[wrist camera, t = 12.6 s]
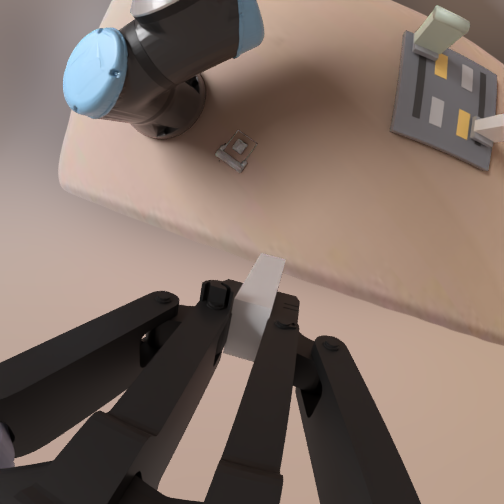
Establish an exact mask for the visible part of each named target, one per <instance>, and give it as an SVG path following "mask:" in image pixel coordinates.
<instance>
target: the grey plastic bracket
mask: <svg viewBox="0 0 504 504" xmlns="http://www.w3.org/2000/svg"><path fill="white" fill-rule="evenodd" d="M238 131H239V130H237V132H238ZM237 132H236V133H237ZM239 132H241V131H239ZM236 133H235V134H236ZM241 133H242V132H241ZM235 134H234V136H235ZM242 134H244V133H242ZM244 135H245V134H244ZM234 136H233V137H234ZM245 136H246V135H245ZM233 137H232V138H233ZM247 137H248V136H247ZM232 138H231V140H232ZM248 138H249V137H248ZM249 139H251V138H249ZM231 140H230V141H231ZM251 140H252V139H251ZM230 141H229V142H230ZM252 141H253V140H252ZM229 142H228V144H229ZM254 142H255V141H254ZM255 143H256V142H255ZM228 144H226V143H225V144H224V145H221V147H220V148H219V150H218V151H217V152H216V154H215V155H216V156H217V157H219V158H220V159H222V160H223V161H224V162H226V163H227V164H228V165H230V166H231V167H232V168H234V169H235V170H236V171H238V172H239V173H241V171H242V170H243V169H244V167H245V166H246V164H247V162H245V161H246V159H247V158H248V156H249V155H250V154H251V152H252V151H253V150H254V148H255V147H256V146H257V144H258V143H256V146H255V147H254V148H253V150H252V151H251V152H250V154H249V155H248V156H247V158H246V159H245V161H243V162H242V163H239V162H238V161H236V160H235V159H234V158H232V157H231V156H230V155H228V154H227V153H225V152H224V151H223V150H224V149H225V148H226V146H227V145H228ZM247 146H248V145H247V144H246V143H244V142H243V141H241V140H240V139H238V140H237V141H236V143H235V144H234V145H233V147H232V148H233V149H234V150H235V151H237V152H238V153H239V154H241V153H242V152H243V151H244V149H245V148H246V147H247ZM219 161H220V160H219Z"/></svg>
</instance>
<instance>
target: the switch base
mask: <svg viewBox="0 0 504 504" xmlns="http://www.w3.org/2000/svg"><path fill="white" fill-rule="evenodd" d="M413 34H414V33H411V32H409V31H405V32H404V34H403V40H402V51H401V60H400V69H399V77H398V84H397V91H396V98H395V104H394V110H393V116H392V122H391V127H390V132H392V133H395V134H398V135H401V136H404V137H407V138H409V139H412V140H415V141H417V142H420V143H422V144H425V145H427V146H430V147H432V148H435V149H437V150H440V151H442V152H444V153H447V154H449V155H451V156H453V157H456V158H458V159H460V160H462V161H464V162H466V163H468V164H471V165H473V166H475V167H477V168H479V169H481V170H483V171H488V169H489V164H490V157H491V151H492V147H487V146H485V145H483V144H481V143H479V142H477V141H475V140H473V139H471V138H470V134H471V126H472V117H474V116H478V117H480V118H487V117H491V116H495V114H496V96H497V75H496V74H494V73H492V72H491V71H489V70H488V69H486V68H484V67H482V66H481V65H479V64H477V63H475V62H474V61H472V60H470V59H468V58H466V57H464V56H462V55H461V54H459V53H457V52H455V51H453V50H451V49H448V48H447V49H446V50H445V51H444V52H443V53H442V54H439V58H438V59H437V60H436V61H433V60H431V59H429V58H426V57H424V56H421V55H419V54H416V53H414V52H412V49H413Z"/></svg>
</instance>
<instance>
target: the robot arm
mask: <svg viewBox="0 0 504 504" xmlns="http://www.w3.org/2000/svg"><path fill="white" fill-rule="evenodd" d="M130 13H131V14H132V16H133V17H134V18H135V20H133V21H132V22H130V23H129V24H127V25H126V26H124V27H123V28H121V29H120V30H117V29H115V28H104V29H103V28H100V29H97V30H94V31H92V32H91V33H89V34H88V35H87V36H85V37H84V38H83V39H82V40H81V41H80V42H79V43H78V45H77V46H76V48H75V49H74V51H73V52H72V54H71V56H70V58H69V60H68V63H67V67H66V70H65V73H64V79H63V91H64V96H65V99H66V102H67V104H68V105H69V107H70V108H71V109H72V110H73V111H75V112H76V113H78V114H81V115H86V116H88V117H91V118H93V119H105V120H112V121H119V122H125V123H130V124H131V125H132V126H133V127H134V128H135V129H136V130H137V131H138V132H140V133H141V134H143V135H145V136H148V137H152V138H159V139H166V138H172V137H175V136H177V135H179V134H181V133H183V132H185V131H186V130H187V129H189V128H190V127H191V126H192V125H193V124H194V123H195V121H196V120H197V119H198V117H199V115H200V114H201V112H202V109H203V107H204V103H205V98H206V89H205V84H204V81H203V79H202V77H201V75H200V73H202V72H204V71H206V70H208V69H210V68H212V67H214V66H216V65H218V64H220V63H222V62H224V61H227V60H229V59H231V58H234V59H235V58H237V57H239V56H240V54H242V53H244V52H247V51H249V50H251V49H253V48H255V47H257V46H258V45H260V44H261V42H262V40H263V38H264V25H263V20H262V17H261V13H260V10H259V7H258V4H257V1H256V0H132V4H131V9H130ZM285 260H286V259H283V258H279V257H276V256H272V255H268V254H264V253H261V254H260V256H259V257H258V259H257V261H256V263H255V264H254V266H253V268H252V269H251V271H250V273H249V274H248V276H247V278H246V280H245V281H244V283H241V282H237V281H234V280H230V279H228V280H225V281H218V280H208V281H205V282H203V283H202V288H201V295H200V301H199V302H198V303H197V305H196V306H184V305H179V298H178V297H177V296H176V295H174V294H172V293H170V292H167V291H166V292H165V291H156V292H152V293H150V294H148V295H145V296H143V297H141V298H139V299H137V300H135V301H132V302H130V303H128V304H126V305H124V306H122V307H119V308H117V309H115V310H113V311H111V312H109V313H106V314H104V315H102V316H100V317H98V318H96V319H93V320H91V321H89V322H87V323H85V324H83V325H80V326H79V327H76V328H74V329H72V330H70V331H68V332H66V333H63V334H61V335H59V336H57V337H55V338H52V339H50V340H48V341H46V342H44V343H42V344H40V345H38V346H35V347H33V348H31V349H29V350H27V351H25V352H22V353H20V354H18V355H16V356H14V357H12V358H10V359H7V360H5V361H3V362H1V363H0V504H279V503H280V497H281V492H282V486H283V475H281V474H280V467H281V461H282V455H283V449H284V443H285V436H286V430H287V423H288V416H289V410H290V402H291V395H292V387H293V386H295V387H296V397H297V401H298V405H299V410H300V414H301V419H302V423H303V428H304V432H305V437H306V441H307V446H308V450H309V454H310V459H311V464H312V468H313V473H314V477H315V482H316V486H317V491H318V496H319V500H320V504H421V503H420V500H419V498H418V496H417V493H416V491H415V489H414V486H413V484H412V482H411V479H410V477H409V475H408V473H407V470H406V468H405V466H404V464H403V461H402V459H401V457H400V455H399V453H398V450H397V449H396V446H395V444H394V442H393V440H392V438H391V436H390V433H389V431H388V429H387V427H386V425H385V423H384V421H383V419H382V417H381V414H380V413H379V410H378V408H377V407H376V404H375V402H374V400H373V398H372V396H371V394H370V392H369V390H368V388H367V386H366V384H365V382H364V380H363V378H362V376H361V374H360V372H359V370H358V368H357V366H356V364H355V362H354V360H353V358H352V356H351V354H350V352H349V350H348V349H347V347H346V345H345V344H344V343H343V342H342V341H340V340H339V339H337V338H335V337H332V336H319V337H317V338H316V339H315V341H312V340H310V339H308V338H306V337H305V336H303V335H302V334H301V333H300V332H299V325H298V324H297V322H298V313H299V300H298V299H297V297H296V296H292V295H289V294H285V293H281V292H277V291H278V287H279V283H280V279H281V275H282V272H283V268H284V264H285ZM144 334H146V337H145V338H143V339H142V337H143V336H144ZM223 348H224V351H223V353H226V354H229V355H232V356H236V357H239V358H243V359H246V360H249V361H253V362H254V364H253V367H252V370H251V373H250V376H249V379H248V382H247V386H246V388H245V391H244V394H243V397H242V400H241V403H240V406H239V409H238V412H237V415H236V418H235V421H234V424H233V426H232V429H231V432H230V435H229V438H228V441H227V443H226V446H225V449H224V452H223V455H222V457H221V460H220V461H219V464H218V466H217V469H216V471H215V474H214V477H213V480H212V482H211V485H210V487H209V490H208V493H207V496H206V498H205V501H204V502H197V501H189V500H182V499H175V498H170V497H167V496H165V495H163V494H161V493H160V492H158V491H157V489H158V485H159V482H160V480H161V477H162V475H163V473H164V472H165V469H166V468H167V466H168V464H169V462H170V460H171V458H172V456H173V454H174V452H175V450H176V448H177V446H178V444H179V442H180V440H181V438H182V436H183V434H184V432H185V430H186V428H187V426H188V424H189V422H190V420H191V418H192V416H193V414H194V412H195V410H196V408H197V406H198V404H199V402H200V400H201V398H202V396H203V394H204V392H205V389H206V388H207V386H208V384H209V381H210V379H211V377H212V375H213V373H214V371H215V369H216V367H217V365H218V363H219V361H220V358H221V353H222V350H223ZM126 389H127V390H126ZM125 390H126V392H125V393H124V394H123V395H122V397H121V398H120V399H119V400H118V402H117V403H116V404H115V405H114V407H113V408H112V409H111V410H110V411H109V412H107V413H104V412H102V411H98V412H95V411H97V410H98V409H100V408H101V407H102V406H104V405H105V404H107V403H108V402H110V401H111V400H112V399H114V398H115V397H116V396H118V395H119V394H121V393H122V392H123V391H125ZM94 412H95V413H94ZM92 413H94V414H93V415H92V416H91V417H90V418H89V419H88V420H87V421H86V423H85V424H84V425H83V426H82V427H81V428H80V429H79V431H78V432H77V433H76V434H75V435H74V437H73V438H72V439H71V440H70V441H69V443H68V444H67V445H66V446H65V447H64V449H63V450H62V451H61V452H60V453H59V455H58V456H57V457H56V458H55V460H53V461H49V462H43V463H37V464H32V465H26V466H18V467H15V465H14V462H13V461H14V458H17V457H21V456H24V455H27V454H29V453H31V452H34V451H36V450H38V449H40V448H41V447H43V446H45V445H47V444H48V443H50V442H51V441H52V440H54V439H56V438H57V437H59V436H60V435H61V434H63V433H64V432H66V431H67V430H69V429H71V428H72V427H73V426H75V425H76V424H78V423H79V422H81V421H82V420H84V419H85V418H87V417H88V416H90V415H91V414H92Z"/></svg>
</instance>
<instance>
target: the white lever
mask: <svg viewBox="0 0 504 504" xmlns="http://www.w3.org/2000/svg"><path fill="white" fill-rule="evenodd" d="M470 138H471V139H473V140H475V141H477V142H479V143H481V144H483V145H485V146H487V147H493V142H504V114H499V115H495V116H491V117H487V118H480V117H478V116H474V117H472V126H471V134H470Z"/></svg>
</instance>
